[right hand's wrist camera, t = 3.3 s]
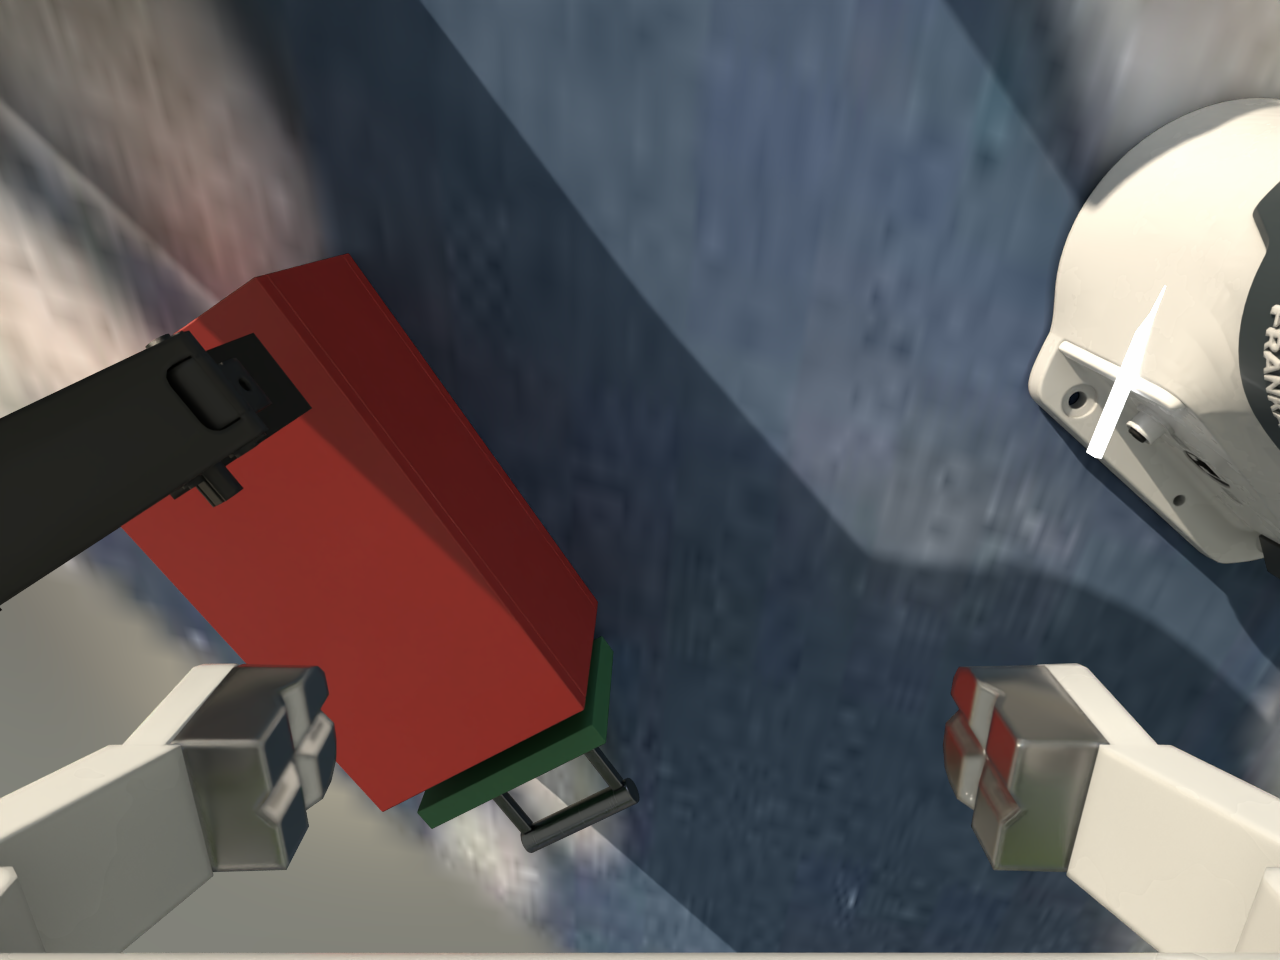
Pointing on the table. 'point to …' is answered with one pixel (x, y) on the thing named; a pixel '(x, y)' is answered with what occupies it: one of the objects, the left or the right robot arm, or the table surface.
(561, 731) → the drawer
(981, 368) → the table surface
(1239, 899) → the right robot arm
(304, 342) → the cabinet
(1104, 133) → the table surface
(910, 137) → the table surface
